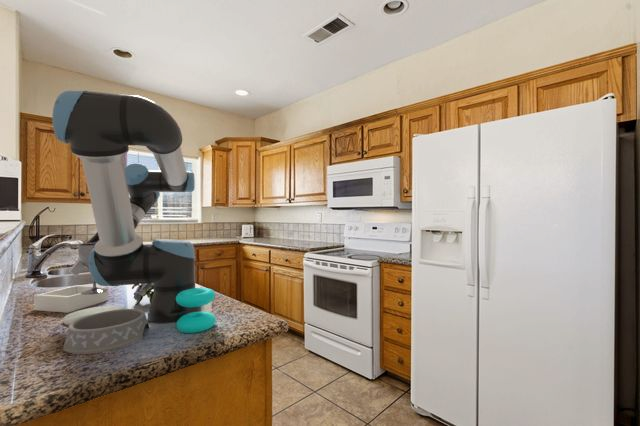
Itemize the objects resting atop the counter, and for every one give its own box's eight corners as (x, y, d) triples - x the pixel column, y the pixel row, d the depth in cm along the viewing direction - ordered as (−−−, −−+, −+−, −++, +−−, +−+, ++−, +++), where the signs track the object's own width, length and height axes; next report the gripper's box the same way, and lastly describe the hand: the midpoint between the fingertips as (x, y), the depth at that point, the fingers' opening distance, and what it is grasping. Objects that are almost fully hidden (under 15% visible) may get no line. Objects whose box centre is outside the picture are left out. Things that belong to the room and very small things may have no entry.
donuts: (215, 285, 92) (213, 294, 82) (216, 319, 92) (214, 332, 82) (179, 288, 89) (172, 297, 79) (179, 323, 89) (173, 336, 79)
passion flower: (138, 320, 108) (126, 290, 112) (170, 307, 116) (158, 279, 119) (142, 308, 101) (129, 276, 104) (176, 295, 108) (163, 266, 112)
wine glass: (72, 293, 95) (71, 244, 95) (97, 287, 103) (97, 241, 103) (91, 296, 93) (90, 245, 93) (115, 289, 101) (115, 242, 100)
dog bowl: (48, 360, 68) (48, 335, 68) (86, 330, 86) (86, 310, 86) (136, 349, 73) (135, 326, 73) (155, 323, 91) (154, 304, 91)
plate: (134, 310, 102) (134, 306, 102) (91, 327, 87) (91, 323, 87) (97, 308, 105) (97, 304, 105) (50, 323, 91) (49, 319, 91)
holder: (108, 300, 115) (107, 286, 115) (68, 312, 101) (68, 297, 101) (77, 298, 118) (77, 285, 118) (34, 310, 104) (34, 295, 104)
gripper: (158, 226, 110) (118, 283, 95) (111, 225, 115) (66, 279, 100) (146, 212, 104) (102, 269, 89) (97, 211, 110) (48, 265, 94)
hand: (83, 274), depth 94 cm, fingers closed on wine glass, 8 cm apart
